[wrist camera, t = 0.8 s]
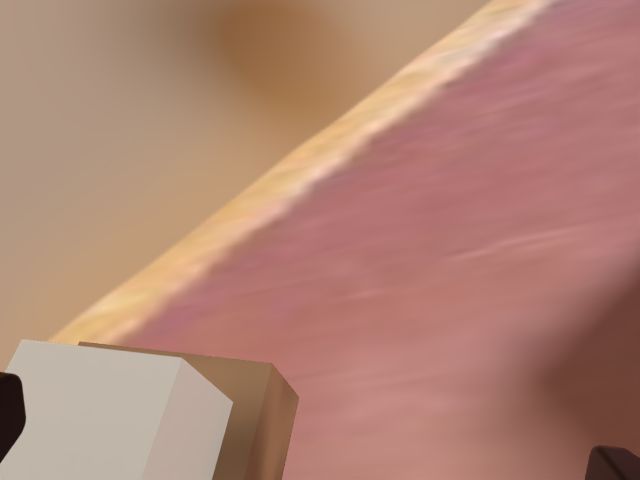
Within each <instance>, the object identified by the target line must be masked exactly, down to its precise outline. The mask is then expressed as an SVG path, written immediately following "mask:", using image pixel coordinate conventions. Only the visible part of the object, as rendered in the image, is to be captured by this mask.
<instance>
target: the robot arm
mask: <svg viewBox="0 0 640 480" xmlns="http://www.w3.org/2000/svg"><path fill="white" fill-rule="evenodd" d="M25 424H26V411H25V403H24V394H23V386H22V381H21V379H20V377H19V376H17V375H16V374H12V373H4V372H0V463H1V462H2V461H3V459H4V458H5V456H6V455H7V454H8V452H9V451H10V449H11V448H12V447H13V445H14V444H15V442H16V441H17V439H18V438H19V437H20V435H21V434H22V432H23V430H24V427H25ZM585 480H640V458H639V457H637V456H636V455H634V454H633V453H631V452H630V451H628V450H626V449H624V448H618V447H610V446H601V445H597V446H595V447H594V448H593V449H592V451H591V453H590V456H589V461H588V466H587V471H586V476H585Z"/></svg>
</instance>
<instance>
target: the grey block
mask: <svg viewBox="0 0 640 480" xmlns="http://www.w3.org/2000/svg"><path fill="white" fill-rule="evenodd" d="M5 373H12V374H16V375H17V376H19V377H20V379H21V381H22V386H23V394H24V403H25V411H26V424H25V427H24V430H23V432H22V434H21V435H20V437H19V438H18V439H17V441H16V442H15V444H14V445H13V447H12V448H11V449H10V451H9V452H8V454H7V455H6V456H5V458H4V459H3V461H2V462H1V463H0V480H212V477H213V474H214V470H215V466H216V463H217V459H218V456H219V452H220V448H221V445H222V441H223V437H224V434H225V430H226V427H227V423H228V419H229V416H230V412H231V408H232V405H233V402H232V401H231V400H230V399H229V398H228V397H227V396H226V395H224V394H223V393H222V392H221V391H220V390H219V389H218V388H216V387H215V386H214V385H213V384H212V383H211V382H209V381H208V380H207V379H206V378H205V377H204V376H203V375H201V374H200V373H199V372H198V371H197V370H196V369H195V368H193V367H192V366H191V365H190V364H189V363H188V362H186V361H185V360H184V359H183V358H180V357H171V356H163V355H154V354H145V353H137V352H128V351H120V350H111V349H103V348H94V347H85V346H77V345H68V344H60V343H51V342H43V341H34V340H25V339H22V340H21V342H20V344H19V346H18V348H17V350H16V352H15V354H14V356H13V358H12V360H11V362H10V363H9V365H8V367H7V369H6V371H5Z"/></svg>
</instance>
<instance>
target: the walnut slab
mask: <svg viewBox="0 0 640 480" xmlns="http://www.w3.org/2000/svg"><path fill="white" fill-rule="evenodd" d="M78 346H85V347H94V348H103V349H111V350H120V351H128V352H137V353H145V354H154V355H163V356H171V357H180V358H183V359H184V360H185V361H186V362H188V363H189V364H190V365H191V366H192V367H193V368H195V369H196V370H197V371H198V372H199V373H200V374H201V375H203V376H204V377H205V378H206V379H207V380H208V381H209V382H211V383H212V384H213V385H214V386H215V387H216V388H218V389H219V390H220V391H221V392H222V393H223V394H224V395H226V396H227V397H228V398H229V399H230V400H231V401H232V402H233V405H232V408H231V412H230V416H229V419H228V423H227V427H226V430H225V434H224V437H223V441H222V445H221V448H220V452H219V456H218V459H217V463H216V466H215V470H214V474H213V477H212V480H282V475H283V470H284V466H285V461H286V456H287V451H288V447H289V442H290V437H291V433H292V428H293V423H294V419H295V414H296V409H297V404H298V400H299V396H298V395H297V394H296V393H295V391H294V390H293V389H292V388H291V386H290V385H289V384H288V383H287V381H286V380H285V379H284V378H283V376H282V375H281V374H280V373H279V371H278V370H277V369H276V368H275V366H274V365H273V364H272V363H264V362H255V361H246V360H237V359H229V358H220V357H211V356H202V355H194V354H185V353H176V352H167V351H158V350H150V349H141V348H132V347H123V346H114V345H106V344H97V343H88V342H79V344H78Z"/></svg>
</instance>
